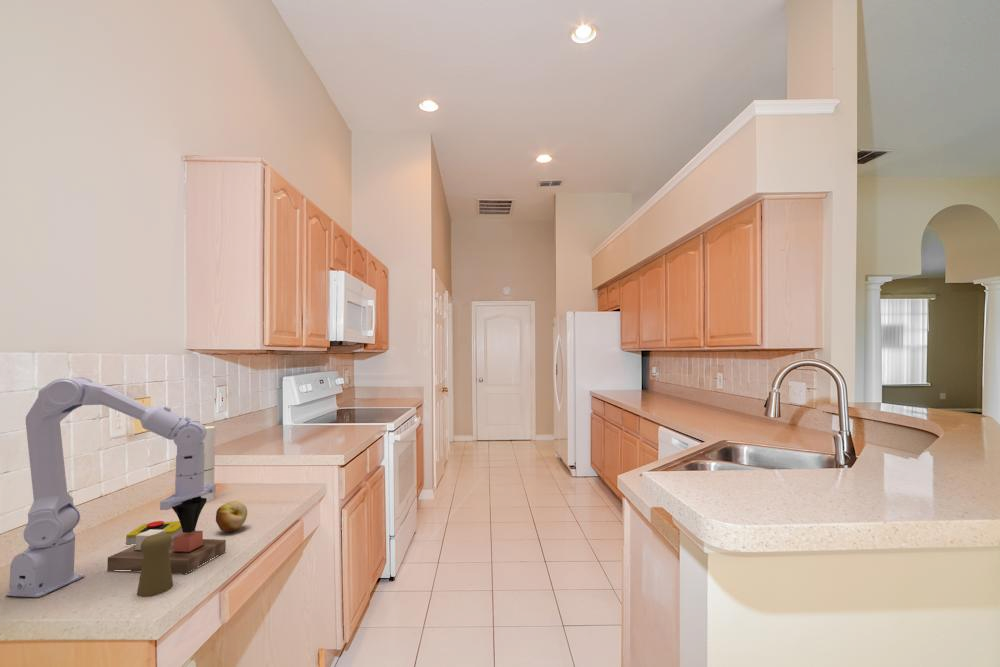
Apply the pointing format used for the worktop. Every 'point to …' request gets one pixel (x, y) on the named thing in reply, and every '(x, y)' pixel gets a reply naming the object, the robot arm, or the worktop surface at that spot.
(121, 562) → the walnut plunger housing
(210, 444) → the cylindrical container
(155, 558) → the olive tall tapered piece
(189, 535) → the salmon red square block
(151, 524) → the emergency button
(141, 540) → the off-white plunger
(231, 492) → the worktop surface
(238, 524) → the fruit
